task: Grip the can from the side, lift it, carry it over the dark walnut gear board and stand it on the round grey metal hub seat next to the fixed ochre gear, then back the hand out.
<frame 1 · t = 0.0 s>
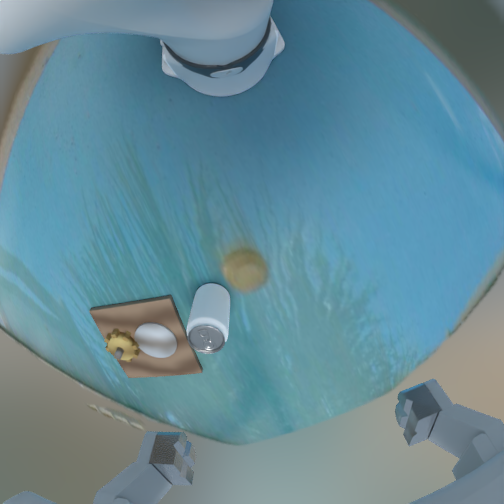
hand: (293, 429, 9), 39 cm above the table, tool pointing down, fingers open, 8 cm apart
can: (212, 296, 52), on the table
gear board: (146, 340, 56), on the table
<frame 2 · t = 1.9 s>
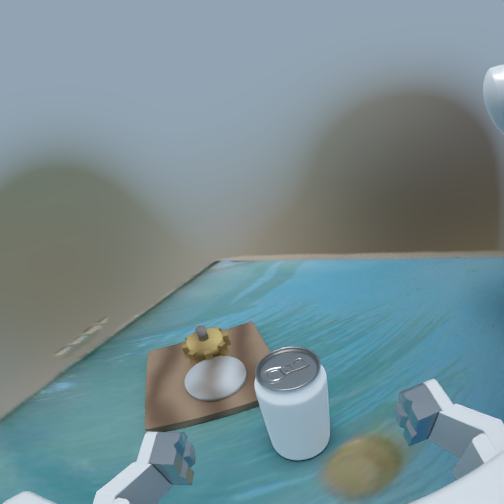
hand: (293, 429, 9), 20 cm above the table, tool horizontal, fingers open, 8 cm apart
can: (301, 440, 26), on the table
gear board: (208, 374, 41), on the table
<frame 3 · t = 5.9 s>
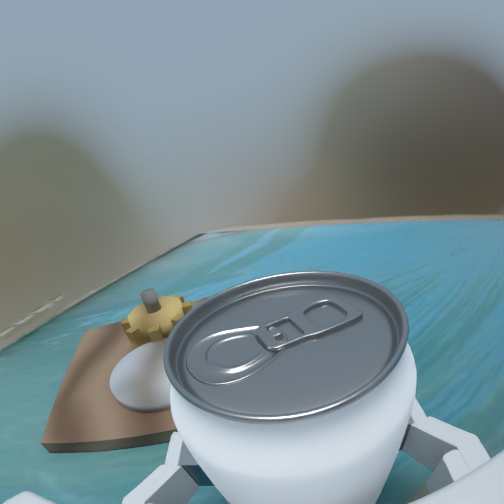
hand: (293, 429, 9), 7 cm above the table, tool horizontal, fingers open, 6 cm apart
can: (310, 503, 10), on the table, touching gripper
gear board: (155, 366, 24), on the table
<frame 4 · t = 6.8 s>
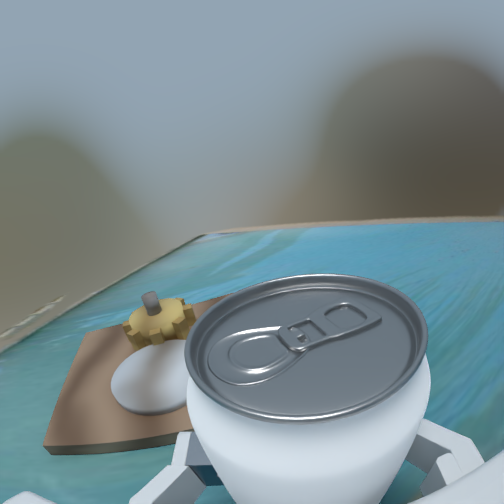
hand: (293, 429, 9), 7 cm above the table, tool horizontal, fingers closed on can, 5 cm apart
gear board: (156, 369, 24), on the table
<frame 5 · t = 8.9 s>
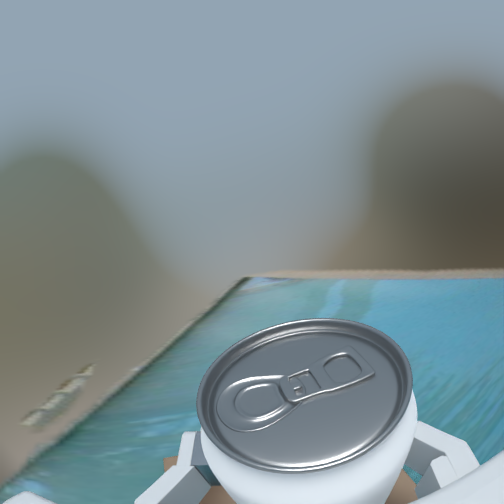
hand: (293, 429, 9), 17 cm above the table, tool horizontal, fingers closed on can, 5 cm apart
when the fingers open (10 cm above the table, at t = 10.5 s): can stays where it is, resting on gear board.
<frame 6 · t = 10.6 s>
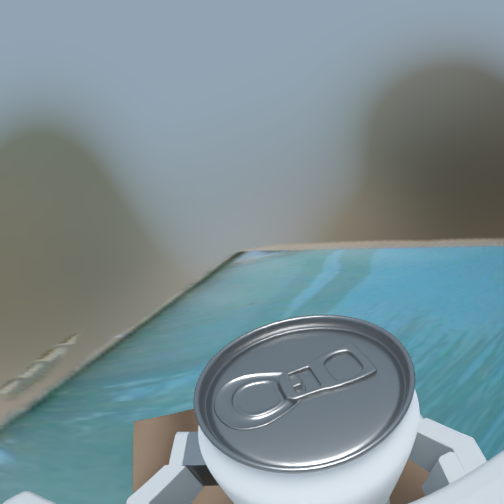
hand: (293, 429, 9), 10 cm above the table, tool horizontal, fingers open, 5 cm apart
gear board: (280, 490, 14), on the table
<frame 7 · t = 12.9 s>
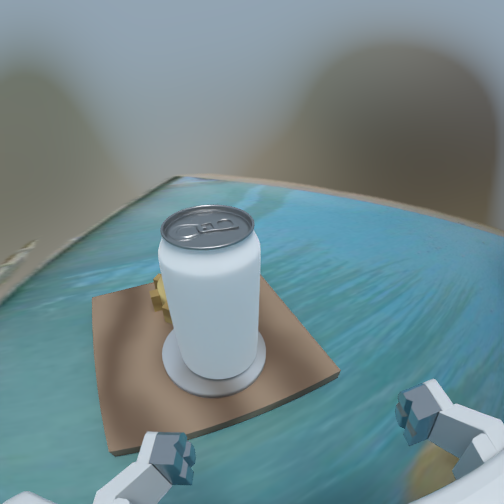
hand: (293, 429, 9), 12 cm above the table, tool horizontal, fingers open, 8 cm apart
can: (219, 352, 23), point 2 cm above the table, touching gear board
gear board: (194, 342, 26), on the table
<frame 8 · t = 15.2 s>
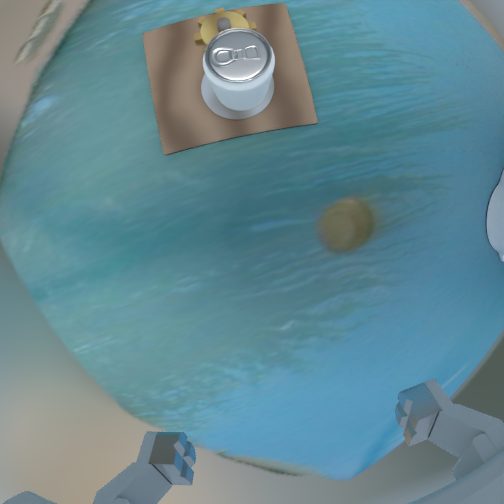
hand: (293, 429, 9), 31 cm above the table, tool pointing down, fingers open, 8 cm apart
can: (241, 87, 31), point 2 cm above the table, touching gear board
gear board: (226, 71, 32), on the table
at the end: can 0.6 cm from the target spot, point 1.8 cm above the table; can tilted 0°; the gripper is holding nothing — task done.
